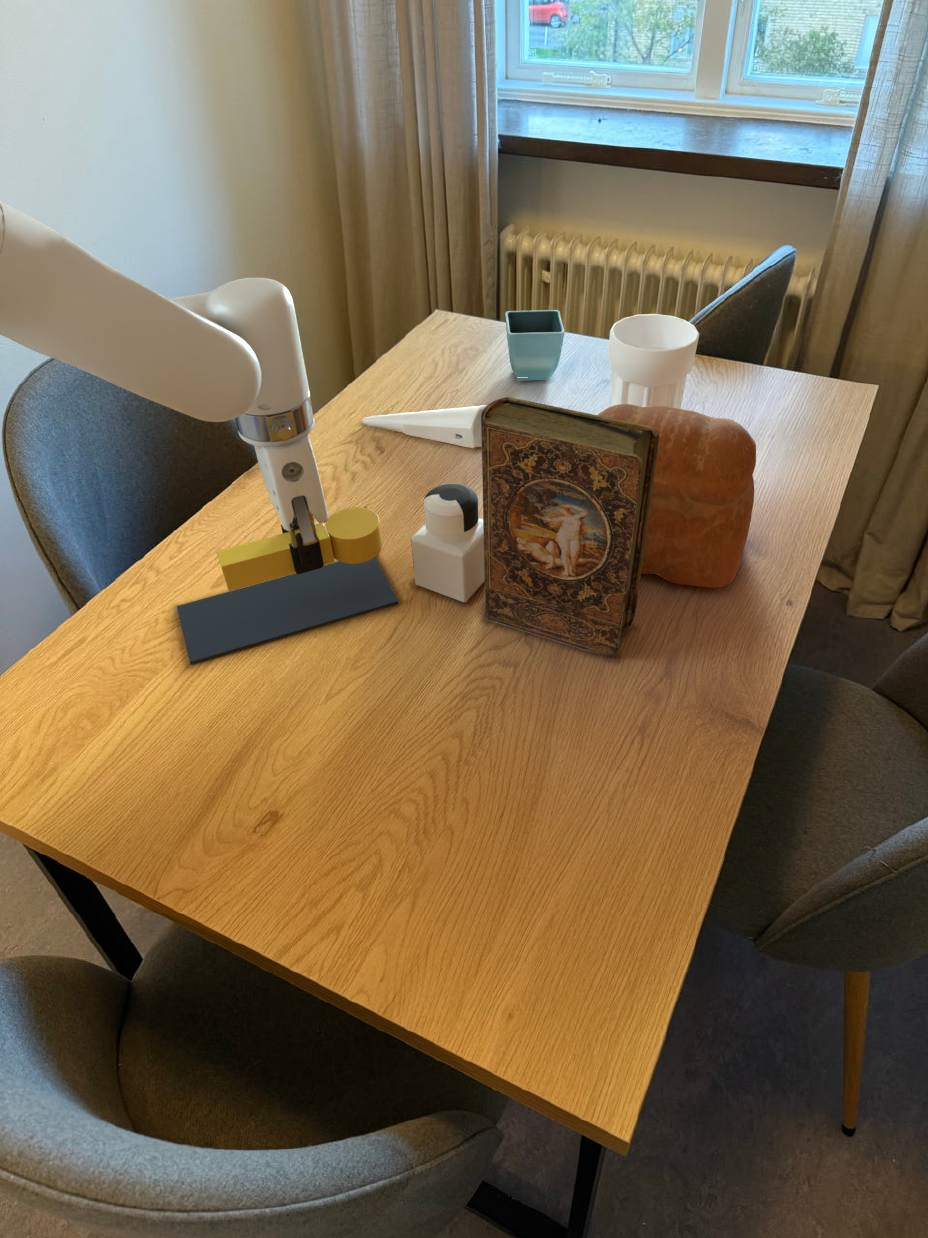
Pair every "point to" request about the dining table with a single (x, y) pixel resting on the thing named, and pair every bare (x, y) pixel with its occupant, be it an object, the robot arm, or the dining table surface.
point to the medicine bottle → (450, 543)
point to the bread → (696, 494)
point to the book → (564, 520)
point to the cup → (651, 360)
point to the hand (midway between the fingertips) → (305, 558)
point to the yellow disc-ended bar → (243, 565)
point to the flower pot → (534, 343)
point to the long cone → (436, 424)
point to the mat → (282, 608)
